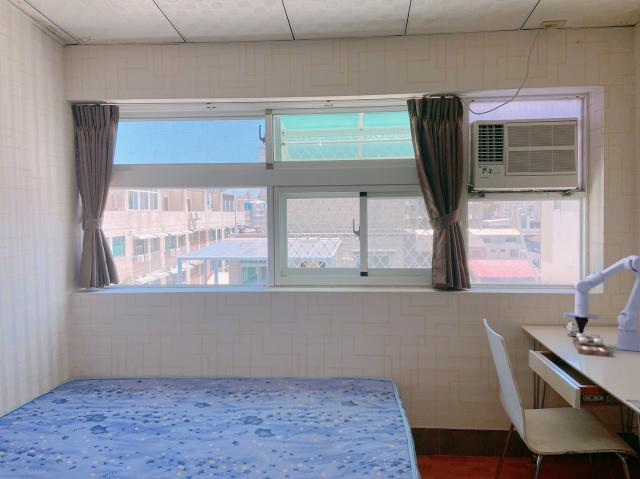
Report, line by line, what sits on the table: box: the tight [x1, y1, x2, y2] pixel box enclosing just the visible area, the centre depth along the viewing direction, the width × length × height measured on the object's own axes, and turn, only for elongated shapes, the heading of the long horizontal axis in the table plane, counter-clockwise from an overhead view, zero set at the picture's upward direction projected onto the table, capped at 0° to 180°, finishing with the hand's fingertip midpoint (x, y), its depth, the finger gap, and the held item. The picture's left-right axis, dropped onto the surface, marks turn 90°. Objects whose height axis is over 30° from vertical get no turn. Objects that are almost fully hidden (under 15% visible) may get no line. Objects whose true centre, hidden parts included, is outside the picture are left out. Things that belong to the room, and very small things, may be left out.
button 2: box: [590, 333, 601, 340], centre depth 210 cm, size 4×4×2 cm
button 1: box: [578, 336, 589, 343], centre depth 206 cm, size 4×4×2 cm
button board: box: [572, 338, 611, 358], centre depth 206 cm, size 12×19×2 cm, turn 157°
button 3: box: [594, 338, 604, 344], centre depth 204 cm, size 4×4×2 cm
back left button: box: [576, 332, 586, 339], centre depth 213 cm, size 4×4×2 cm
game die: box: [564, 320, 585, 337], centre depth 227 cm, size 9×8×10 cm
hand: (580, 332), depth 213 cm, fingers closed
